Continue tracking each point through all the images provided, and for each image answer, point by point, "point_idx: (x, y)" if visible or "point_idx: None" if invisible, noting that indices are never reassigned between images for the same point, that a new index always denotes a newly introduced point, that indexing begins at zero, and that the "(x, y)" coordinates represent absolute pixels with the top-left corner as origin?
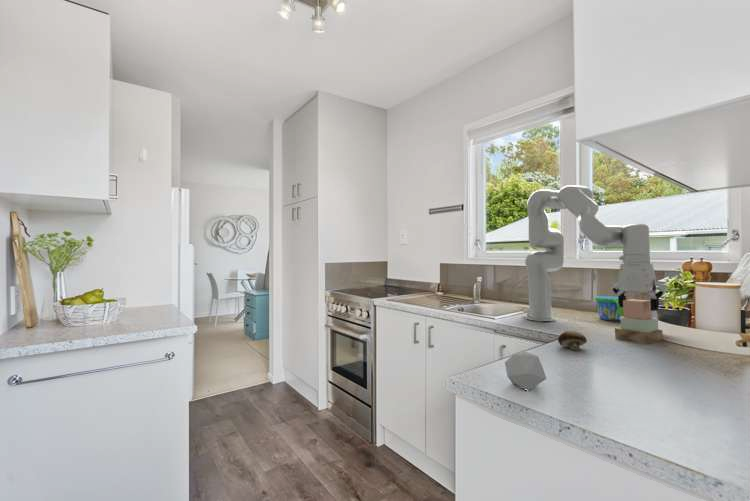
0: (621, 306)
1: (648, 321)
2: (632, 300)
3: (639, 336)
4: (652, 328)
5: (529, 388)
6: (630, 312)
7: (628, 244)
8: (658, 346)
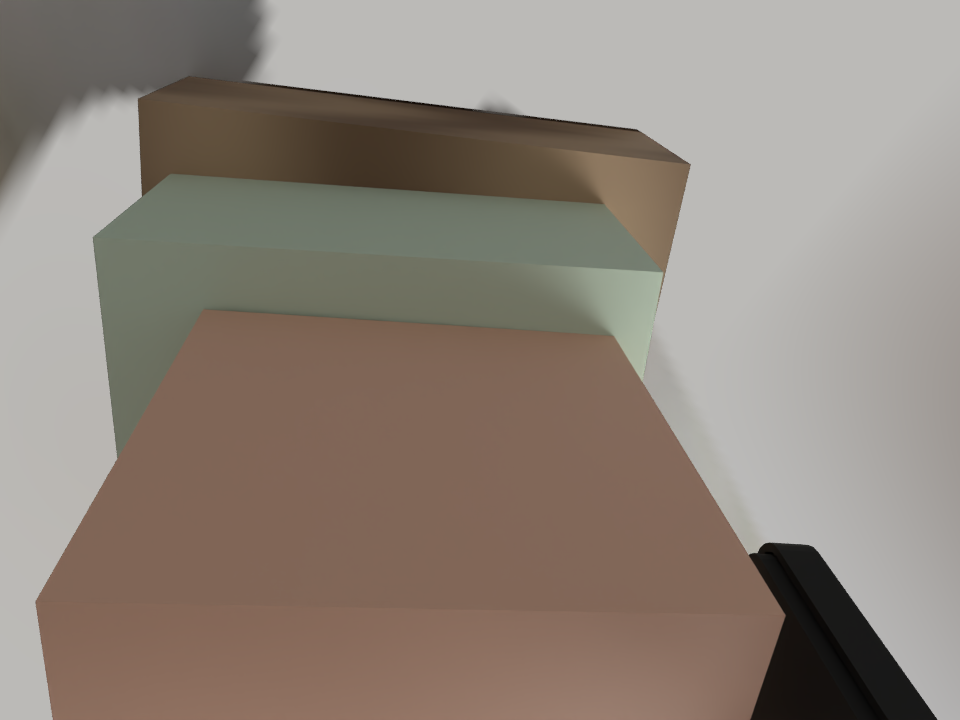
0: (765, 559)
1: (105, 286)
2: None
3: (290, 107)
4: None
5: None
6: (485, 387)
7: None
8: (40, 53)
